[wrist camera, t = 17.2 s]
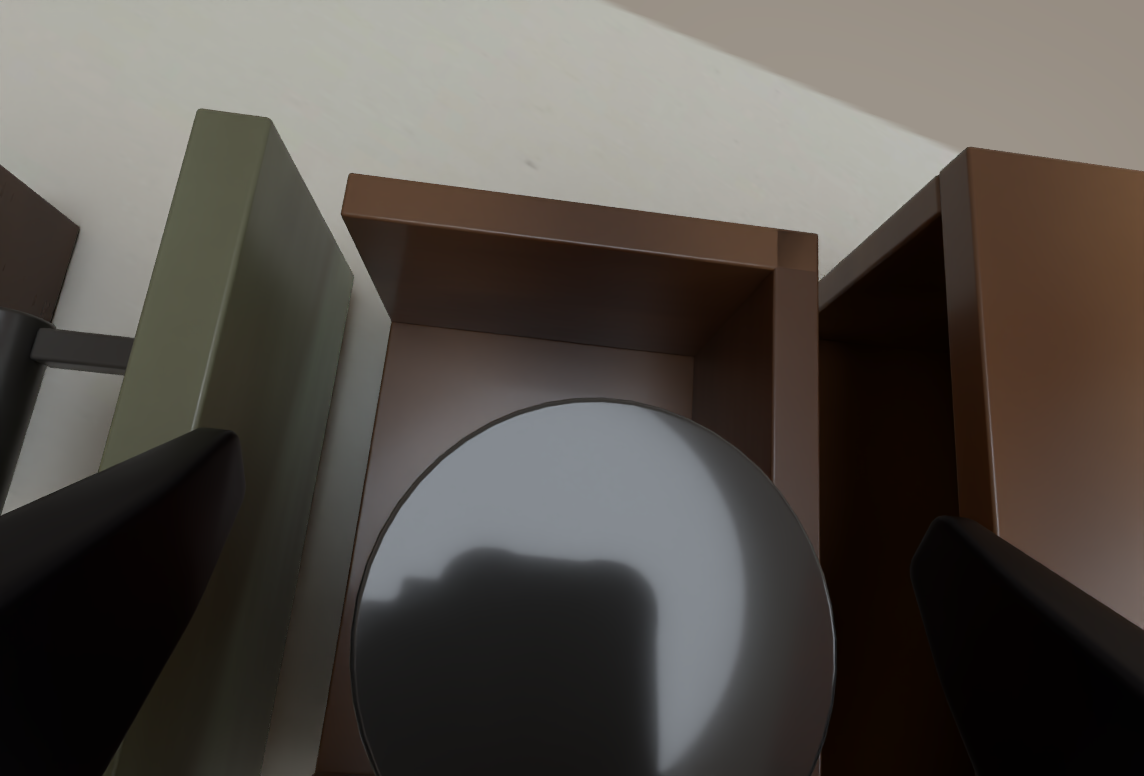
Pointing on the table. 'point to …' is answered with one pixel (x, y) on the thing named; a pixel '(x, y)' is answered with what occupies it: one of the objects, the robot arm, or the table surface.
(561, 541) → the shaker
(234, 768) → the drawer
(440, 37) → the table surface
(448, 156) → the table surface
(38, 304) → the stand
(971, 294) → the cabinet
